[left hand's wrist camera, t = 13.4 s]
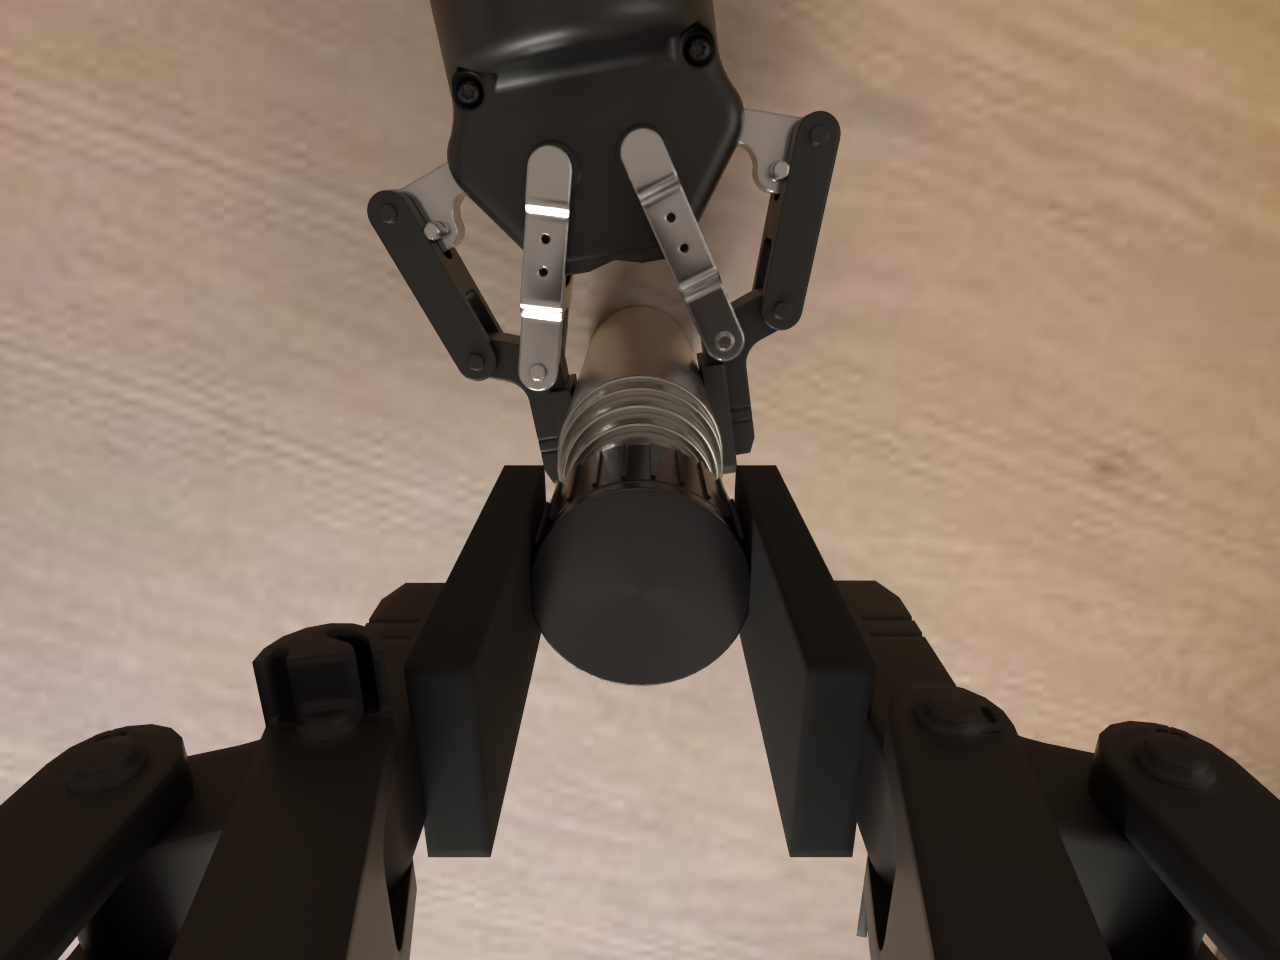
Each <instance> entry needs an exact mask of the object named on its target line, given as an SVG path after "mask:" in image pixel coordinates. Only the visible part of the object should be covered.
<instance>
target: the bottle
mask: <svg viewBox="0 0 1280 960" xmlns="http://www.w3.org/2000/svg"><path fill="white" fill-rule="evenodd" d="M623 443H627V445H632V444H650V443H654V445H657V446H663V447H667V448H670V449H673V450H676V448H677V449H680V450H681V453H684V454H686V455H688V456H690V457H691V458H693V459H695V460H696V461H698V462H699V461H700V460H701V461H702V462H703V463H704V466H705V467H706V468H707V469H708V470H709V471H710V472H711V473H712V474H713V475H714V476H715V477H716V478H717V479H718V478H720V479H721V480H722V475H723V447H722V440H721V435H720V432H719V429H718V426H717V423H716V420H715V417H714V414H713V411H712V408H711V405H710V402H709V399H708V396H707V393H706V390H705V387H704V384H703V381H702V378H701V375H700V372H699V369H698V366H697V363H696V360H695V357H694V354H693V352H692V349H691V346H690V343H689V340H688V337H687V335H686V333H685V331H684V330H683V328H682V327H681V326H680V324H679V323H678V322H677V321H676V320H675V319H674V318H672V317H671V316H670V315H668V314H667V313H665V312H663V311H661V310H658V309H655V308H651V307H645V306H636V307H629V308H625V309H622V310H620V311H617V312H616V313H614V314H612V315H611V316H609V317H608V318H607V319H606V320H604V321H603V322H602V323H601V325H600V326H599V327H598V329H597V330H596V332H595V333H594V336H593V338H592V340H591V343H590V346H589V349H588V352H587V355H586V358H585V361H584V364H583V367H582V370H581V373H580V376H579V379H578V382H577V385H576V388H575V391H574V394H573V397H572V400H571V403H570V406H569V409H568V412H567V415H566V418H565V421H564V424H563V427H562V430H561V433H560V437H559V443H558V467H557V470H558V478H559V481H562V480H563V479H564V478H565V477H566V476H567V475H568V473H569V472H571V471H572V470H573V468H574V465H575V464H576V463H578V464H580V463H582V462H583V461H585V460H586V459H588V458H589V457H591V456H593V455H595V454H596V453H597V451H599V450H601V451H605V450H607V449H610V448H614V447H618V446H623Z"/></svg>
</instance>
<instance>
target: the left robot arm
mask: <svg viewBox="0 0 1280 960" xmlns="http://www.w3.org/2000/svg"><path fill="white" fill-rule="evenodd" d="M734 503H735V506H736V509H737V512H738V516H739V519H740V522H741V525H742V528H743V532H744V535H745V538H746V541H744V542H743V543H744V546H745V550H746V553H747V556H748V560H749V563H750V568H751V583H750V600H749V612H748V616H747V618H746V620H745V623H744V625H743V627H742V629H741V631H740V632H739V633H740V638H741V642H742V647H743V651H744V656H745V660H746V664H747V669H748V673H749V678H750V682H751V687H752V691H753V695H754V700H755V704H756V709H757V713H758V718H759V722H760V726H761V731H762V735H763V740H764V744H765V749H766V753H767V757H768V762H769V766H770V771H771V775H772V780H773V784H774V788H775V793H776V797H777V802H778V806H779V811H780V815H781V820H782V824H783V828H784V833H785V837H786V842H787V846H788V851H789V855H790V857H852V855H853V847H854V840H855V832H856V824H857V823H858V826H859V829H860V832H861V835H862V838H863V841H864V844H865V846H866V849H867V852H868V858H867V865H866V872H865V879H864V886H863V893H862V900H861V908H860V915H859V922H858V929H857V936H861V937H866V936H867V931H868V937H869V947H870V957H871V960H1280V800H1279V799H1278V798H1277V797H1276V796H1274V795H1273V794H1272V793H1271V792H1270V791H1269V790H1268V789H1266V788H1265V787H1264V786H1263V785H1262V784H1261V783H1260V782H1259V781H1257V780H1256V779H1255V778H1254V777H1253V776H1252V775H1251V774H1250V773H1248V772H1247V771H1246V770H1245V769H1244V768H1243V767H1242V766H1240V765H1239V764H1238V763H1237V762H1236V761H1235V760H1233V759H1232V758H1230V757H1229V756H1228V755H1226V754H1225V753H1223V752H1222V751H1221V750H1219V749H1218V748H1216V747H1215V746H1213V745H1212V744H1210V743H1208V742H1206V741H1204V740H1202V739H1199V738H1197V737H1195V736H1193V735H1191V734H1189V733H1187V732H1185V731H1182V730H1179V729H1176V728H1173V727H1168V726H1166V725H1161V724H1156V723H1148V722H1136V721H1127V722H1122V723H1117V724H1112V725H1109V726H1108V727H1107V728H1106V729H1105V730H1104V731H1103V732H1101V733H1100V734H1099V738H1098V741H1097V745H1096V749H1095V753H1090V752H1085V751H1080V750H1076V749H1071V748H1066V747H1061V746H1057V745H1052V744H1047V743H1042V742H1039V741H1035V740H1031V739H1028V738H1024V737H1021V736H1019V735H1018V734H1017V732H1016V729H1015V727H1014V725H1013V724H1012V722H1011V721H1010V719H1009V718H1008V717H1007V715H1006V714H1005V713H1004V711H1003V710H1001V709H1000V708H999V707H997V706H996V705H995V704H993V703H992V702H990V701H989V700H988V699H986V698H985V697H982V696H980V695H978V694H975V693H973V692H971V691H969V690H966V689H964V688H960V687H957V686H956V685H955V683H954V682H953V680H952V679H951V677H950V675H949V674H948V672H947V671H946V669H945V668H944V666H943V665H942V663H941V661H940V660H939V658H938V657H937V655H936V654H935V652H934V651H933V649H932V647H931V646H930V644H929V643H928V641H927V640H926V638H925V637H922V632H921V630H920V629H919V627H918V626H917V624H916V623H915V621H912V616H911V615H910V613H909V612H908V610H907V609H906V607H905V606H904V604H903V602H902V601H901V599H900V598H899V597H898V596H897V595H895V594H894V593H892V592H891V591H889V590H888V589H886V588H885V587H884V586H882V585H881V584H879V583H878V582H876V581H834V580H833V578H832V576H831V574H830V572H829V570H828V568H827V566H826V564H825V562H824V560H823V558H822V556H821V554H820V552H819V550H818V548H817V546H816V544H815V542H814V540H813V538H812V536H811V534H810V532H809V530H808V528H807V526H806V524H805V522H804V520H803V518H802V516H801V514H800V512H799V510H798V508H797V506H796V504H795V502H794V500H793V498H792V496H791V494H790V492H789V490H788V488H787V486H786V484H785V483H784V481H783V479H782V477H781V475H780V473H779V471H778V469H777V467H776V465H736V479H735V500H734ZM545 504H546V490H545V469H544V465H505V466H504V468H503V470H502V471H501V473H500V475H499V477H498V479H497V481H496V483H495V485H494V487H493V489H492V491H491V493H490V495H489V497H488V499H487V501H486V503H485V505H484V507H483V509H482V511H481V513H480V515H479V517H478V519H477V521H476V523H475V525H474V527H473V529H472V531H471V533H470V535H469V537H468V539H467V541H466V543H465V545H464V547H463V549H462V551H461V553H460V555H459V557H458V559H457V561H456V563H455V565H454V567H453V569H452V571H451V573H450V575H449V577H448V579H447V581H446V583H405V584H404V585H402V586H401V587H399V588H398V589H396V590H395V591H393V592H392V593H391V594H389V595H388V596H386V597H385V598H383V599H382V600H381V602H380V603H379V605H378V606H377V608H376V609H375V611H374V613H373V614H372V616H371V617H370V619H369V623H366V625H365V627H364V626H361V625H357V624H353V623H330V624H324V625H319V626H313V627H308V628H304V629H302V630H299V631H296V632H294V633H291V634H288V635H286V636H283V637H281V638H280V639H278V640H277V641H275V642H274V643H272V644H270V645H269V646H267V647H266V648H264V649H263V650H262V651H261V653H260V654H259V655H258V656H257V657H256V658H255V660H254V661H253V662H252V663H253V668H254V673H255V677H256V682H257V687H258V691H259V696H260V701H261V706H262V710H263V715H264V720H265V724H266V728H265V730H264V733H263V735H262V738H261V739H260V740H257V741H253V742H250V743H246V744H243V745H239V746H234V747H230V748H225V749H220V750H215V751H211V752H206V753H201V754H196V755H192V756H187V754H186V751H185V747H184V743H183V739H182V737H181V736H180V735H179V734H177V733H176V732H175V731H174V730H173V729H172V728H169V727H164V726H159V725H154V724H148V725H136V726H126V727H122V728H117V729H114V730H112V731H110V730H109V731H106V732H103V733H100V734H97V735H95V736H93V737H91V738H89V739H87V740H85V741H83V742H81V743H79V744H77V745H74V746H72V747H70V748H69V749H67V750H66V751H65V752H63V753H62V754H60V755H59V756H58V757H56V758H55V759H53V760H52V761H50V762H49V763H48V764H46V765H45V766H44V767H43V768H42V769H41V770H40V771H38V772H37V773H36V774H35V775H34V776H33V777H32V778H31V779H30V780H28V781H27V782H26V783H25V784H24V785H23V786H22V787H21V788H19V789H18V790H17V791H16V792H15V793H14V794H13V795H12V796H10V797H9V798H8V799H7V800H6V801H5V802H4V803H3V804H1V805H0V960H58V959H59V957H60V956H61V955H62V954H63V952H64V951H65V950H66V949H67V948H68V946H69V945H70V944H71V943H72V942H73V940H74V939H75V938H76V937H78V940H79V942H80V943H79V944H78V946H77V947H76V948H75V949H74V951H73V952H72V953H71V954H70V956H69V957H68V958H67V959H66V960H409V958H410V949H411V939H412V930H413V920H414V910H415V901H416V891H417V886H416V879H415V872H414V865H413V855H414V852H415V849H416V846H417V843H418V840H419V837H420V834H421V831H422V828H423V826H424V828H425V836H426V844H427V851H428V857H491V853H492V848H493V844H494V839H495V835H496V830H497V826H498V822H499V817H500V813H501V808H502V804H503V799H504V795H505V791H506V786H507V782H508V777H509V773H510V768H511V764H512V760H513V755H514V751H515V746H516V742H517V737H518V733H519V729H520V724H521V720H522V715H523V711H524V706H525V702H526V698H527V693H528V689H529V684H530V680H531V675H532V671H533V667H534V662H535V658H536V653H537V649H538V644H539V640H540V635H541V631H540V629H539V627H538V625H537V623H536V621H535V619H534V616H533V612H532V608H531V592H530V567H531V564H532V560H533V557H534V553H535V550H536V547H537V545H534V540H535V537H536V534H537V530H538V527H539V524H540V521H541V517H542V514H543V511H544V507H545ZM1204 933H1206V934H1207V935H1208V937H1209V938H1210V939H1211V940H1212V941H1213V943H1214V944H1215V945H1216V946H1217V947H1218V949H1219V950H1220V951H1219V952H1218V954H1217V956H1215V955H1214V954H1213V953H1212V952H1211V951H1210V949H1209V948H1208V947H1207V946H1206V944H1205V943H1204V942H1203V941H1202V939H1203V936H1204Z"/></svg>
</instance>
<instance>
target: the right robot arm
mask: <svg viewBox="0 0 1280 960" xmlns="http://www.w3.org/2000/svg"><path fill="white" fill-rule="evenodd" d="M430 3H431V8H432V12H433V16H434V21H435V25H436V30H437V34H438V39H439V43H440V47H441V52H442V56H443V61H444V65H445V70H446V74H447V79H448V83H449V88H450V92H451V96H452V102H453V127H452V132H451V136H450V140H449V143H448V149H447V160H448V162H447V163H445V164H443V165H442V166H440V167H438V168H436V169H435V170H433V171H431V172H429V173H428V174H426V175H424V176H423V177H421V178H419V179H417V180H416V181H414V182H412V183H410V184H409V185H407V186H405V187H404V188H402V189H399V190H385V191H380V192H378V193H376V194H375V195H373V196H372V198H371V199H370V201H369V203H368V208H367V213H368V218H369V220H370V222H371V224H372V226H373V227H374V229H375V231H376V232H377V234H378V236H379V237H380V239H381V241H382V242H383V244H384V246H385V247H386V249H387V251H388V252H389V254H390V256H391V257H392V259H393V261H394V262H395V264H396V266H397V267H398V269H399V271H400V272H401V274H402V276H403V277H404V279H405V281H406V282H407V284H408V286H409V287H410V289H411V291H412V292H413V294H414V296H415V297H416V299H417V301H418V302H419V304H420V306H421V307H422V309H423V311H424V312H425V314H426V316H427V317H428V319H429V321H430V322H431V324H432V326H433V327H434V329H435V331H436V332H437V334H438V335H439V337H440V339H441V340H442V342H443V344H444V345H445V347H446V349H447V350H448V352H449V354H450V355H451V357H452V359H453V360H454V362H455V364H456V365H457V367H458V369H459V370H460V372H461V373H462V374H463V375H464V376H465V377H466V378H468V379H470V380H474V381H482V380H485V379H487V378H492V379H497V380H503V381H508V382H512V383H514V384H516V385H518V386H520V387H521V388H522V389H523V390H524V391H525V393H526V394H527V396H528V398H529V401H530V405H531V410H532V414H533V419H534V423H535V428H536V432H537V437H538V440H539V446H540V450H541V454H542V459H543V464H544V468H545V471H546V473H547V474H548V475H549V477H550V478H551V480H552V481H553V483H557V482H558V481H559V478H558V470H557V467H558V443H559V437H560V433H561V430H562V427H563V424H564V421H565V418H566V415H567V412H568V409H569V406H570V403H571V400H572V397H573V394H574V391H575V388H576V385H577V378H576V374H571V375H569V373H568V368H567V363H566V358H565V353H566V341H567V330H568V318H569V308H570V302H571V295H572V284H573V274H579V273H585V272H590V271H592V270H594V269H596V268H598V267H600V266H602V265H605V264H607V263H609V262H611V261H613V260H622V261H631V262H641V263H643V262H649V261H655V260H661V259H666V261H667V263H668V265H669V268H670V270H671V272H672V274H673V277H674V279H675V281H676V283H677V286H678V288H679V290H680V292H681V294H682V297H683V299H684V301H685V303H686V306H687V308H688V310H689V312H690V314H691V317H692V319H693V321H694V323H695V326H696V328H697V330H698V332H699V335H700V337H701V344H702V351H703V353H697V359H698V366H699V372H700V375H701V378H702V381H703V384H704V387H705V390H706V393H707V396H708V399H709V402H710V405H711V408H712V411H713V414H714V417H715V420H716V423H717V426H718V429H719V432H720V435H721V440H722V447H723V474H728V473H734V472H736V465H737V462H736V455H738V454H744V453H750V451H751V447H752V444H753V440H754V429H753V421H752V412H751V403H750V395H749V386H748V378H747V369H746V359H747V355H748V353H749V351H750V349H751V348H752V346H753V345H754V344H755V343H756V342H758V341H759V340H761V339H763V338H765V337H766V336H768V335H770V334H772V333H774V332H776V331H777V330H786V329H789V328H791V327H792V326H794V325H795V324H796V323H797V322H798V320H799V319H800V317H801V314H802V310H803V305H804V301H805V296H806V292H807V287H808V283H809V278H810V273H811V269H812V264H813V260H814V255H815V250H816V246H817V241H818V237H819V232H820V228H821V223H822V218H823V214H824V209H825V205H826V200H827V196H828V191H829V186H830V182H831V177H832V173H833V168H834V164H835V159H836V154H837V150H838V145H839V141H840V126H839V123H838V121H837V120H836V118H835V117H834V116H833V115H831V114H830V113H828V112H824V111H816V112H813V113H810V114H808V115H806V116H804V117H795V116H789V115H783V114H777V113H771V112H764V111H758V110H752V109H746V108H744V107H743V103H742V100H741V98H740V96H739V94H738V92H737V90H736V89H735V88H734V86H733V85H732V83H731V82H730V80H729V79H728V77H727V75H726V73H725V71H724V69H723V66H722V63H721V60H720V56H719V51H718V45H717V36H716V27H715V18H714V9H713V0H430ZM736 146H740V147H742V148H743V149H745V150H746V151H747V152H748V154H749V155H750V157H751V160H752V165H753V168H752V176H753V180H754V182H755V184H756V186H757V187H758V188H759V189H760V190H762V191H764V192H767V193H771V195H770V201H769V206H768V211H767V216H766V221H765V226H764V232H763V237H762V242H761V247H760V252H759V257H758V263H757V268H756V273H755V278H754V283H753V288H752V291H751V292H749V293H747V294H745V295H744V296H742V297H740V298H738V299H737V300H735V301H733V302H731V303H730V301H729V298H728V296H727V294H726V291H725V289H724V287H723V284H722V282H721V279H720V276H719V273H718V270H717V268H716V266H715V263H714V261H713V258H712V256H711V254H710V251H709V249H708V247H707V244H706V242H705V240H704V237H703V235H702V233H701V230H700V228H699V226H698V222H699V220H700V218H701V216H702V214H703V212H704V210H705V208H706V206H707V204H708V202H709V200H710V198H711V196H712V194H713V192H714V190H715V188H716V186H717V184H718V182H719V180H720V178H721V176H722V174H723V172H724V170H725V168H726V166H727V164H728V162H729V160H730V158H731V156H732V154H733V152H734V150H735V148H736ZM466 195H468V196H469V197H470V198H471V199H472V200H473V201H474V202H475V203H476V204H477V205H478V206H479V207H480V208H481V209H482V210H483V211H484V212H485V213H486V214H487V215H488V216H489V217H490V218H491V219H492V220H493V221H494V222H495V223H496V224H497V225H498V226H499V227H500V228H501V229H502V230H503V231H504V232H505V233H506V234H507V235H508V236H509V237H510V238H511V239H513V240H514V241H515V242H516V243H517V244H518V245H519V246H520V247H521V248H522V249H523V265H522V282H521V298H520V308H521V314H522V319H521V336H518V335H513V334H507V333H503V331H502V330H501V328H500V326H499V324H498V323H497V321H496V319H495V317H494V316H493V314H492V312H491V310H490V308H489V307H488V305H487V303H486V301H485V300H484V298H483V296H482V294H481V293H480V291H479V289H478V287H477V286H476V284H475V282H474V280H473V279H472V277H471V275H470V273H469V272H468V270H467V268H466V266H465V265H464V263H463V261H462V259H461V258H460V256H459V254H458V252H457V251H456V249H455V247H457V246H458V245H459V244H460V243H461V242H462V240H463V238H464V234H465V228H464V224H463V221H462V219H461V215H460V206H461V203H462V201H463V199H464V197H465V196H466Z"/></svg>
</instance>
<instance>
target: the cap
mask: <svg viewBox="0 0 1280 960" xmlns="http://www.w3.org/2000/svg"><path fill="white" fill-rule="evenodd" d="M744 541H746V538H745V535H744V532H743V528H742V525H741V522H740V519H739V516H738V512H737V509H736V506H735V503H734V500H733V499H729V497H728V495H727V493H726V491H725V489H724V486H723V483H722V480H721V479H720V478H718V479H717V478H716V477H715V476H714V475H713V474H712V473H711V472H710V471H709V470H708V469H707V468H706V467H705V466H704V463H703V462H702V461H701V460H700V461H699V462H698V461H696V460H695V459H693V458H691V457H690V456H688V455H686V454H684V453H681V450H680V449H677V448H676V450H673V449H670V448H667V447H663V446H657V445H654V443H650V444H632V445H627V443H623V446H618V447H614V448H610V449H607V450H605V451H601V450H599V451H597V453H596V454H595V455H593V456H591V457H589V458H588V459H586V460H585V461H583V462H582V463H580V464H578V463H576V464H575V465H574V468H573V470H572V471H571V472H569V473H568V475H567V476H566V477H565V478H564V479H563V480H562V481H558V482H557V484H556V488H555V491H554V494H553V496H552V498H551V501H550V503H549V502H546V504H545V507H544V511H543V514H542V517H541V521H540V524H539V527H538V530H537V534H536V537H535V540H534V545H537V547H536V550H535V553H534V557H533V560H532V564H531V567H530V592H531V608H532V612H533V616H534V619H535V621H536V623H537V625H538V627H539V629H540V631H541V633H542V634H543V636H544V637H545V639H546V640H547V642H548V643H549V644H550V645H551V646H552V648H553V649H554V650H555V651H556V652H557V653H558V654H559V655H560V656H561V657H562V658H564V659H565V660H566V661H567V662H569V663H570V664H571V665H573V666H574V667H576V668H577V669H579V670H581V671H583V672H585V673H587V674H589V675H591V676H594V677H596V678H599V679H601V680H605V681H608V682H612V683H617V684H623V685H634V686H647V685H658V684H664V683H669V682H673V681H676V680H679V679H683V678H685V677H687V676H690V675H692V674H694V673H696V672H698V671H700V670H702V669H703V668H705V667H707V666H708V665H710V664H711V663H712V662H714V661H715V660H716V659H718V658H719V657H720V656H721V655H722V654H723V653H724V652H725V651H726V650H727V649H728V648H729V646H730V645H731V644H732V643H733V641H734V640H735V639H736V637H737V636H738V634H739V632H740V631H741V629H742V627H743V625H744V623H745V620H746V618H747V616H748V612H749V600H750V583H751V568H750V563H749V560H748V556H747V553H746V550H745V546H744V543H743V542H744Z"/></svg>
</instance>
